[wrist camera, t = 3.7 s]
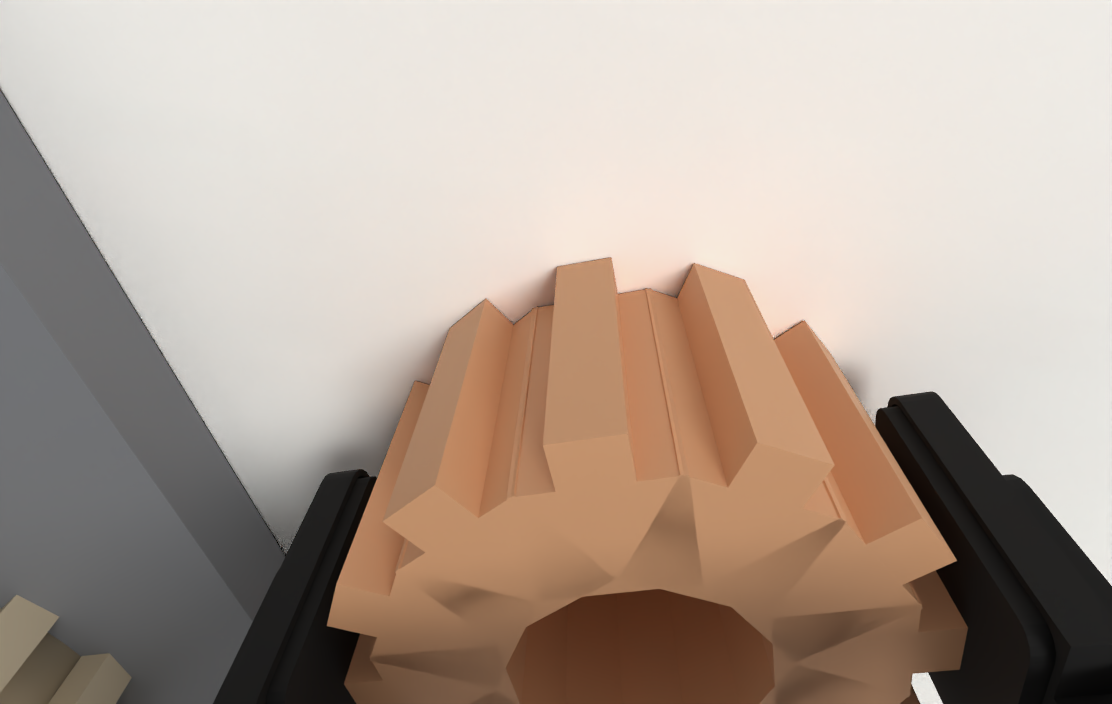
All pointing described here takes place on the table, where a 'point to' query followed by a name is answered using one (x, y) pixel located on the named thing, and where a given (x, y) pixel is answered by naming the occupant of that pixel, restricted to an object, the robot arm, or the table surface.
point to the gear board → (105, 481)
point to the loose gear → (641, 517)
